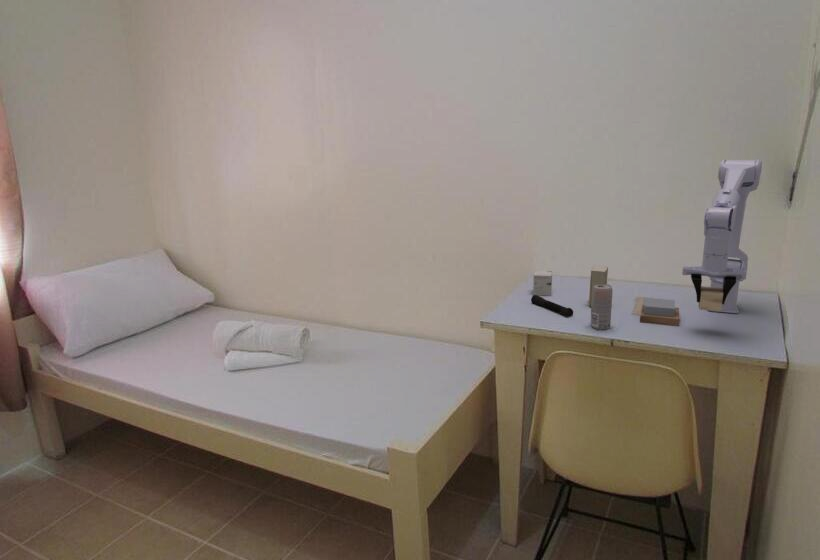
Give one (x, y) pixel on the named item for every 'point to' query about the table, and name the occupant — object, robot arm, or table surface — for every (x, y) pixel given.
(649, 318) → the tower base slab
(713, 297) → the beech cube
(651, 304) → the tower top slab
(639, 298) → the grooming comb
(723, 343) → the table surface
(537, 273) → the skincare box
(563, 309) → the flashlight
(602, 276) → the skincare box
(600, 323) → the energy drink
